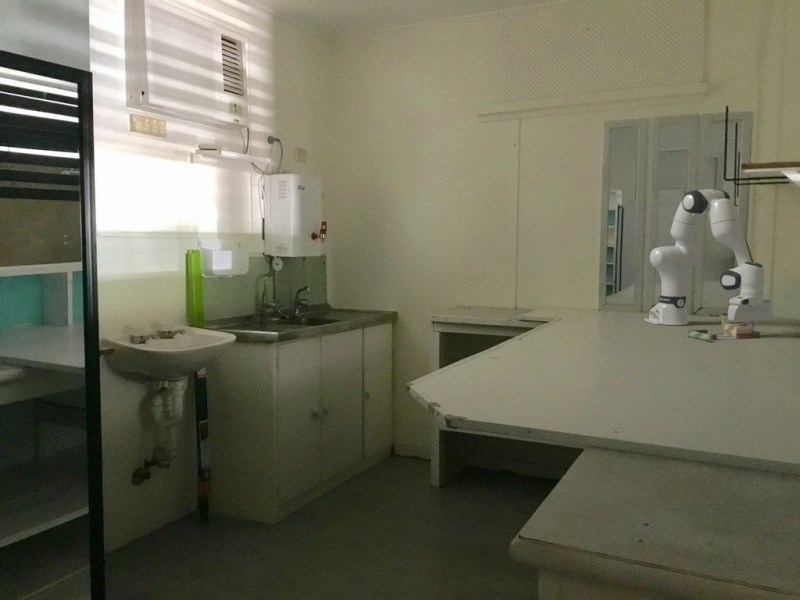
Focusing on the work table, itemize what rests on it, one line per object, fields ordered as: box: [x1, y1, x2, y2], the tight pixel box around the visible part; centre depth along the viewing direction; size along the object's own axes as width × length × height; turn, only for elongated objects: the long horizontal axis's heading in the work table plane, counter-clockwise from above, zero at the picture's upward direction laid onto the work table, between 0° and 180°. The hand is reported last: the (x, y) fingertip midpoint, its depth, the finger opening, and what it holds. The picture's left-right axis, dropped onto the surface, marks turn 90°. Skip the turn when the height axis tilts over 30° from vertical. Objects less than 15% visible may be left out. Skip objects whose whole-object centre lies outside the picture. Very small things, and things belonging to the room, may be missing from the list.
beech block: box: [723, 323, 752, 337], centre depth 268 cm, size 7×7×4 cm
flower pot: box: [719, 312, 741, 333], centre depth 280 cm, size 9×9×9 cm
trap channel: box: [687, 329, 761, 343], centre depth 267 cm, size 14×24×3 cm, turn 103°
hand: (749, 331), depth 270 cm, fingers closed
